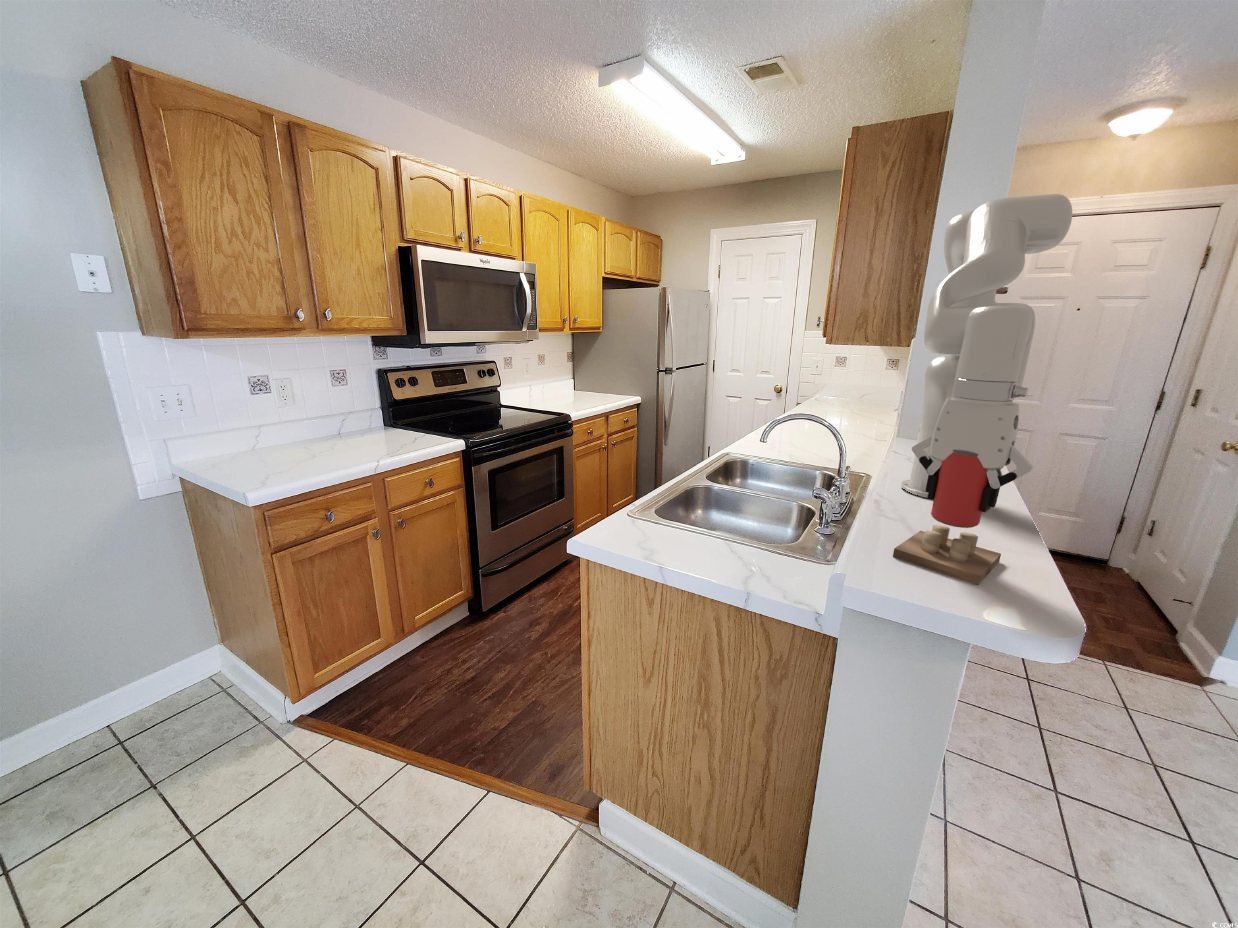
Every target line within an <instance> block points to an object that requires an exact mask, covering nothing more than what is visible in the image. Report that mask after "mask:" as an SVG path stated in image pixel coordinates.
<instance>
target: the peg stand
mask: <svg viewBox="0 0 1238 928" xmlns="http://www.w3.org/2000/svg"><path fill="white" fill-rule="evenodd" d="M950 531H951V530H950V527H948V526H947V525H944V524H943V525H942V524H933V525H932V529H931V530H925V531H923V530H920V531H918V532H916V533H914V534H913V535H912V536H910V537H908V539H906V540H904V541H903V542H901V543H900V544H899V545H897V546H896V547H894V548H893V553H892V557H893V558H896V559H898V560H902V561H904V562H908V563H911V564H913V565H915V566H920V567H923V568H925V569H928V570H932V571H935V572H937V573H940V574H943V575H946V576H950V577H952V578H955V579H958V580H961V581H965V582H968V583H971V584H973V585H976V586H979V585H980V584H981V583H982V582H983V580H984V579H985V578H987V576H988V575H989V574H990V573H991V571H992V570H994V569H995V567H996V566H997V565H998V564H999V563H1000V560H1001V555H1002V553H1000V552H996V551H993V550H989V549H987V548H983V547H979V546H977V544H978V539H979V536H978V535H977V534H975V533H972V532H967V531H962V532H959V533H960V534H959V537H957V538H949V535H950Z"/></svg>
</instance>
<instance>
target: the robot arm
mask: <svg viewBox="0 0 1238 928" xmlns="http://www.w3.org/2000/svg"><path fill="white" fill-rule="evenodd" d="M1072 221H1073V206H1072V203H1071V200H1070V199H1069V198H1068V197H1067V196H1065V195H1064V194H1059V193H1049V194H1048V193H1047V194H1039V195H1036V194H1035V195H1025V196H1014V197H1013V196H1012V197H1003V198H996V199H993V200H990V201H987V202H985V203H983V204H981V205H980V206H979V207H978V208H975V210H969V211H966V212H962V213H960V214H957V215H955V216H954V217H952V219H950V221H948V223H947V225H946V229H945V232H944V238H943V240H944V243H943V250H944V252H943V253H944V259H945V264H946V268H947V273H948V275H947V276H946V277H945V278H944V279H943V280H942V281H940V282H939V284H938V285H937V286H936V287H935V290H934V291H933V293H932V295H931V297H930V300H929V303H928V306H927V312H926V319H925V326H924V334H923V335H924V337H923V340H924V341H923V342H924V345H925V347H926V349H927V350H928V351H930V352H931V353H934V354H937V355H940V356H937V357H935V358H933V359H932V360H931V361H930V362H929V363H928V365H927V366H926V369H925V373H924V397H923V406H922V407H923V408H922V414H921V419H920V423H919V430H918V435H917V439H916V440H917V441H916V444H915V445H913V446H912V447H911V451H912V453H913V454H914V457H913V461H912V467H911V472H910V477H909V479H905V480H903V481H902V482H901V485H900V488H901V487H902V488H903V489H905V490H906V491H905V490H904V491H905V492H907V491H908V492H907V493H909V492H910V493H909V494H911V493H912V494H911V495H914V496H917V495H918V497H922V498H926V499H927V500H934V496H935V491H936V486H937V481H938V477H939V472H940V467H941V465H942V461H944V460H945V459H946V458H947V457H948V456H949V455H950V454H952V453H953V450H958V451H962V452H968V453H977V454H978V456H977V457H978V459H979V460H980V462H981V463H982V465H983V467H984V468H985V469H987V473H986V474H987V477H988V480H989V484H988V486H987V487H985V490H984V494H983V498H982V502H981V507H980V511H981V512H982V513H986V512H987V513H988V511H989V510H990V509H991V508H992V509H993V508H996V505H997V502H998V497H999V494H1000V491H1001V490H1000V489H1001V488H1002V487H1003V486H1005V485H1007V484H1009V483H1011V482H1013V481H1015V480H1016V479H1019V478H1020V477H1022V476H1025V475H1026V474H1028V473H1030V472H1031V471H1033V470H1034V466H1033V465H1032V463H1030V462H1029V460H1028V459H1027V458H1026V457H1025V456H1024V455H1023V454H1022V453H1021V451H1019V450H1018V448H1016V440H1017V435H1018V428H1019V418H1020V417H1019V416H1020V404H1019V403H1015V402H1013V400H1015V399H1016V398H1020V397H1021V398H1026V397H1027V395H1028V393H1029V388H1028V387H1023V384H1024V379H1025V375H1026V370H1027V364H1028V362H1029V361H1028V360H1029V355H1030V352H1031V348H1032V347H1031V346H1032V342H1033V338H1034V333H1035V329H1036V328H1035V327H1036V313H1035V310H1034V308H1032V306H1031V305H1029V304H1027V303H1020V302H996V295H997V290H998V289H1001V288H1004V287H1005V286H1007V285H1009V284H1011V283H1012V282H1013V281H1015V280H1016V279H1017V278H1018V277H1019V276H1020V275H1021V274H1022V271H1023V270H1024V267H1025V264H1026V261H1025V260H1026V255H1031V254H1039V253H1043V252H1045V251H1049V250H1051V249H1053V248H1056V247H1057V246H1059V244H1061V242H1062V241H1063V240H1064V239H1065V238H1066V236H1067V234H1068V233H1069V230H1070V227H1071V224H1072ZM941 355H942V356H941ZM1011 462H1013V464H1015V466H1016V468H1015V469H1012V470H1011V471H1009V472H1007V473H1005V474H1003V472H1002V469H1003V468H1004V467H1005V466H1009V465H1010V464H1011ZM902 488H901V489H902ZM903 489H902V490H903Z"/></svg>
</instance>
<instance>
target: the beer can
mask: <svg viewBox="0 0 1238 928" xmlns="http://www.w3.org/2000/svg"><path fill="white" fill-rule="evenodd" d="M977 456H978V454H977V453H968V452H962V451H958V450H953V453H952V454H950V455H949V456H948V457H947V458H946V459H945V460H944V461H942V465H941V467H940V472H939V477H938V481H937V486H936V491H935V496H934V499H933V502H932V506H931V512H930V515H931V517H932V518H933V520H935V521H937V522H938V523H941V524H943V525H945V526H950V527H953V528H959V529H961V528H963V529H964V528H965V529H969V528H975V527H977V526H979V525H980V522H981V518H982V513H983V512H981V511H980V507H981V502H982V498H983V494H984V490H985V487H987V486H988V484H989V480H988V477H987V474H986V473H987V469H985V468H984V467H983V465H982V463H981V462H980V460H979V459H978V457H977Z"/></svg>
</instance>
